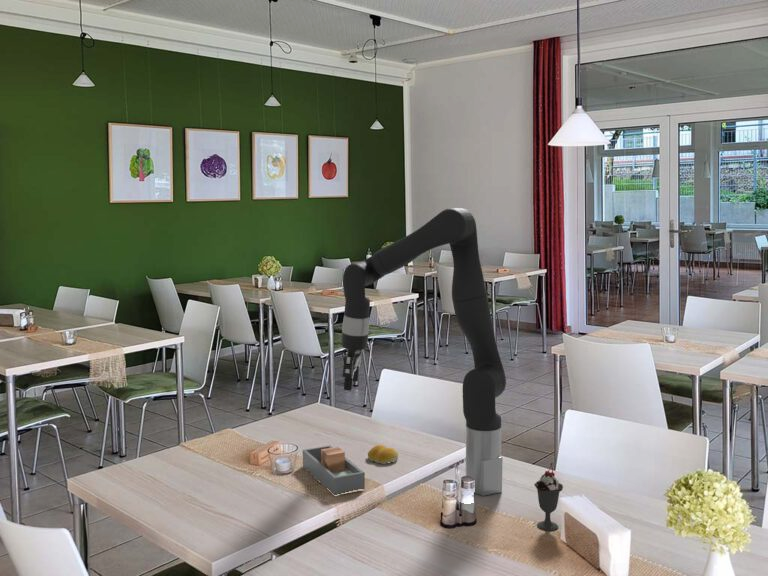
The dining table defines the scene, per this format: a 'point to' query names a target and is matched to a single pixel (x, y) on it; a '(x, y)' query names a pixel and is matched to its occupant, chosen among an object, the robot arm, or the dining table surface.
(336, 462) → the block
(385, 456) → the bread roll
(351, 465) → the trap box
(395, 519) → the dining table surface
